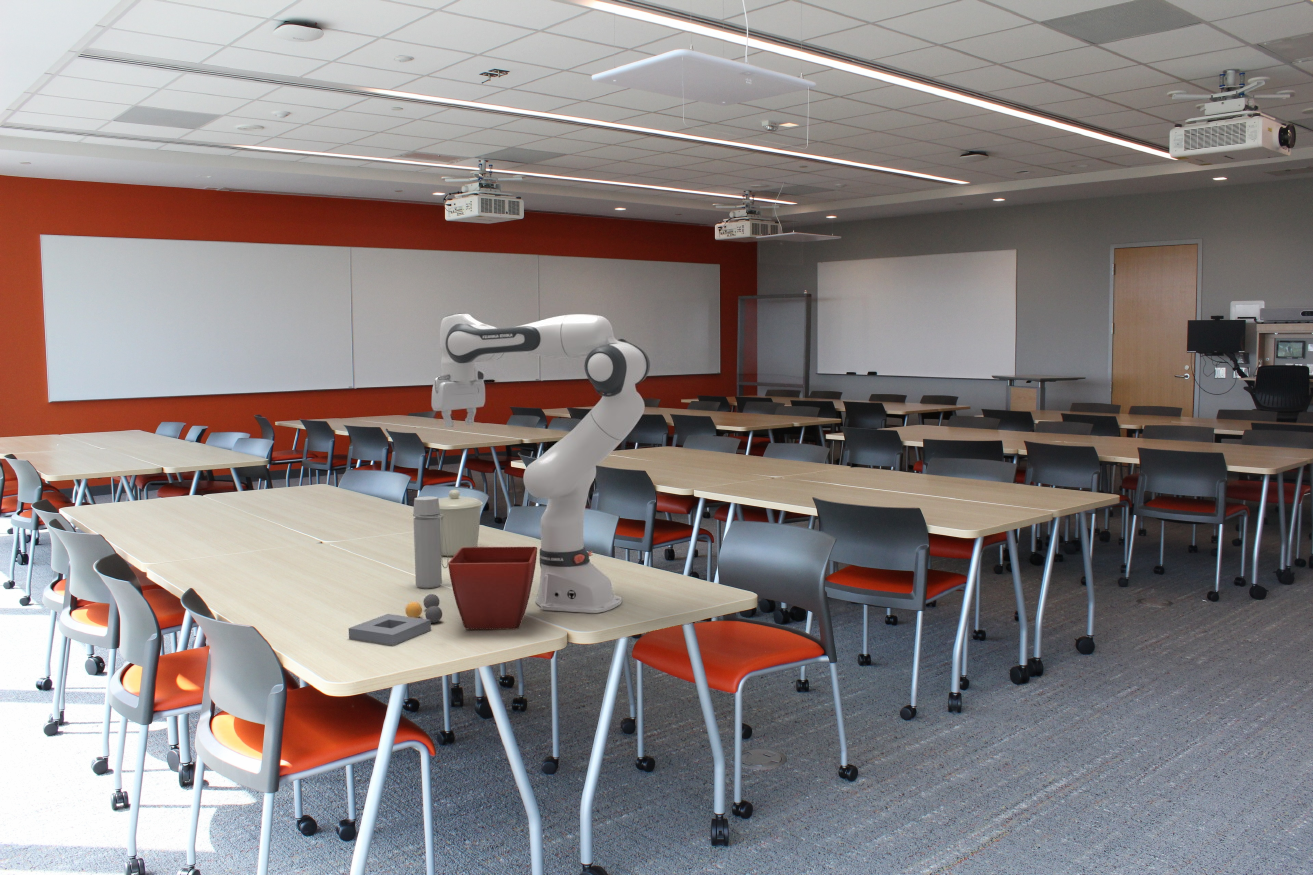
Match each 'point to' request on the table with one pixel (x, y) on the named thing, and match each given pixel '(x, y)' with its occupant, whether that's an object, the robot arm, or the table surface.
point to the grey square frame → (389, 629)
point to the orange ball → (413, 609)
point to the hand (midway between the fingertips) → (459, 425)
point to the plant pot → (492, 585)
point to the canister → (459, 522)
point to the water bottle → (427, 542)
